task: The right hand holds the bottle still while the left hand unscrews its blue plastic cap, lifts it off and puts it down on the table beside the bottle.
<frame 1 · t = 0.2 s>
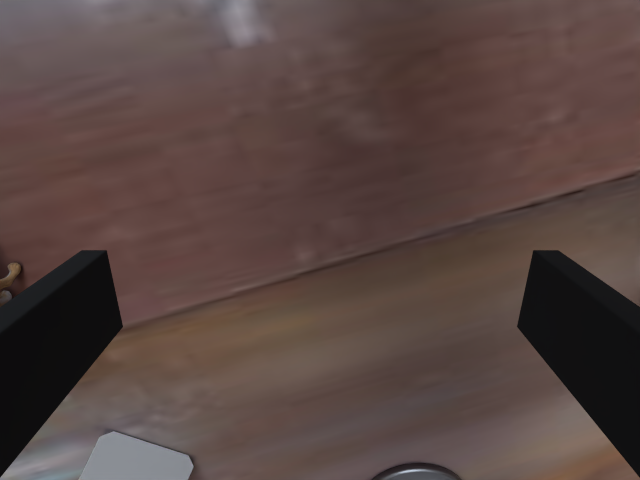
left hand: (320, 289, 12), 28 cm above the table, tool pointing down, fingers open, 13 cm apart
electronic device: (144, 459, 54), on the table
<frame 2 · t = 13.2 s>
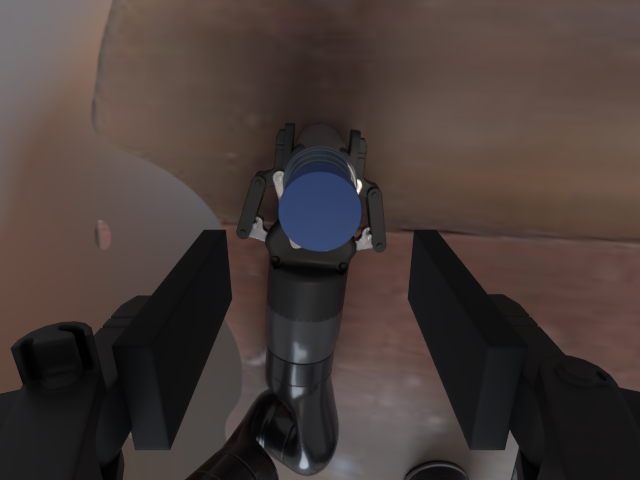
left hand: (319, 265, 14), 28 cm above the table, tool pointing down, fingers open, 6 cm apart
right hand: (322, 128, 33), fingers closed on bottle, 5 cm apart
bottle: (319, 148, 40), on the table, touching right hand
cap: (320, 211, 20), point 21 cm above the table, screwed on, not yet turned
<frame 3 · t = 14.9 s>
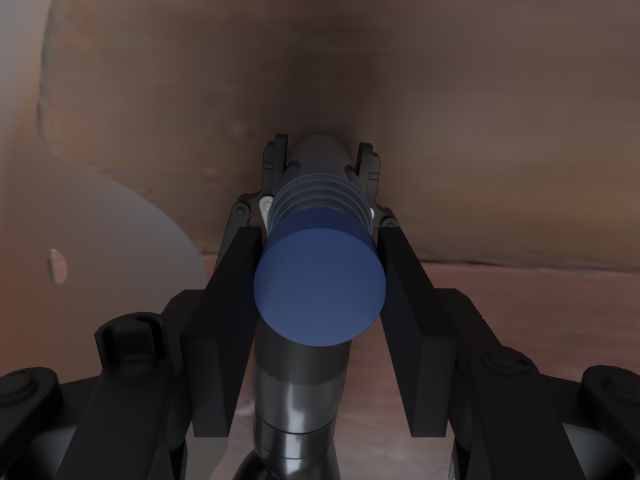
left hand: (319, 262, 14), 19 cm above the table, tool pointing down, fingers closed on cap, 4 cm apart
bottle: (319, 163, 32), on the table, touching right hand
cap: (319, 286, 13), point 21 cm above the table, screwed on, not yet turned, touching left hand
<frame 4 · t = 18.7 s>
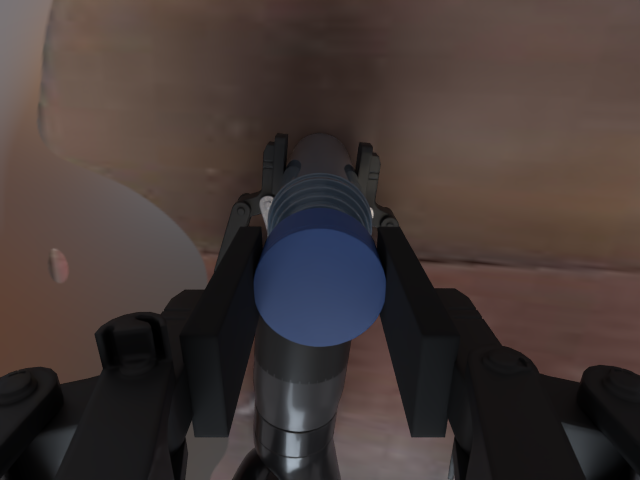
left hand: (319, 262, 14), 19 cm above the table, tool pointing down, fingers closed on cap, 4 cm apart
bottle: (319, 163, 32), on the table, touching right hand
cap: (319, 286, 13), point 21 cm above the table, turned 130° so far, risen 0.1 cm, still on its thread, touching left hand
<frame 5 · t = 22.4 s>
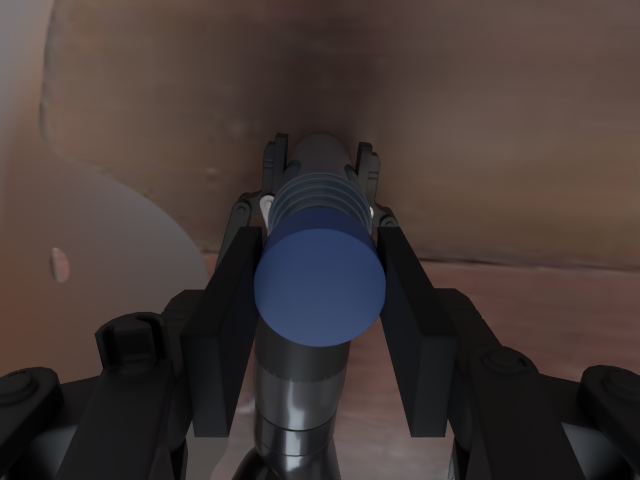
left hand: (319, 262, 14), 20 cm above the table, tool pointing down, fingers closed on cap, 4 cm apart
bottle: (319, 163, 33), on the table, touching right hand
cap: (319, 286, 13), point 21 cm above the table, turned 261° so far, risen 0.3 cm, still on its thread, touching left hand
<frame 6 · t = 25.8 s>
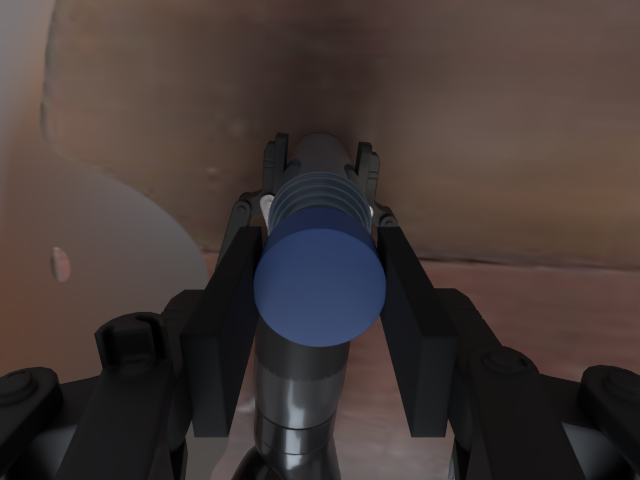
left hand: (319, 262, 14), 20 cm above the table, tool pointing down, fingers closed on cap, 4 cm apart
bottle: (319, 162, 33), on the table, touching right hand
cap: (319, 286, 13), point 22 cm above the table, turned 391° so far, risen 0.4 cm, still on its thread, touching left hand
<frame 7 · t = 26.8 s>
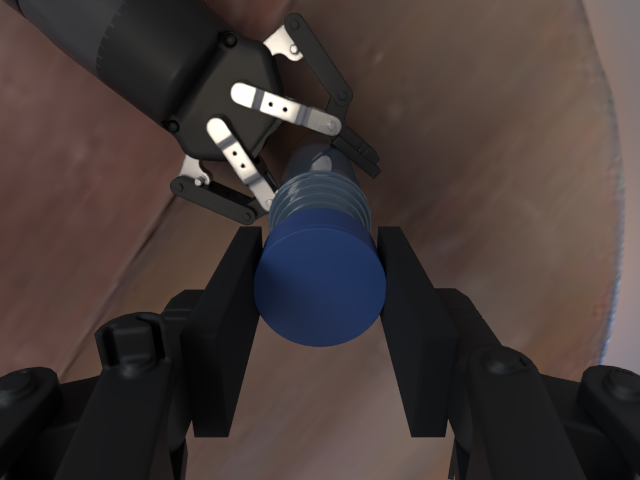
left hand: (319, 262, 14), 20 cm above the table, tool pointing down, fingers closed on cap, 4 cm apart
right hand: (349, 201, 28), fingers closed on bottle, 5 cm apart
bottle: (319, 162, 33), on the table, touching right hand
cap: (319, 286, 13), point 22 cm above the table, off its thread, touching left hand
when the left hand's fingers open (1 cm above the table, at t = 33.9 s): cap drops 1 cm, point 2 cm above the table.
when the right hand's fingers open (6 cm above the table, at t = 35.1 s): bottle stays where it is, on the table.
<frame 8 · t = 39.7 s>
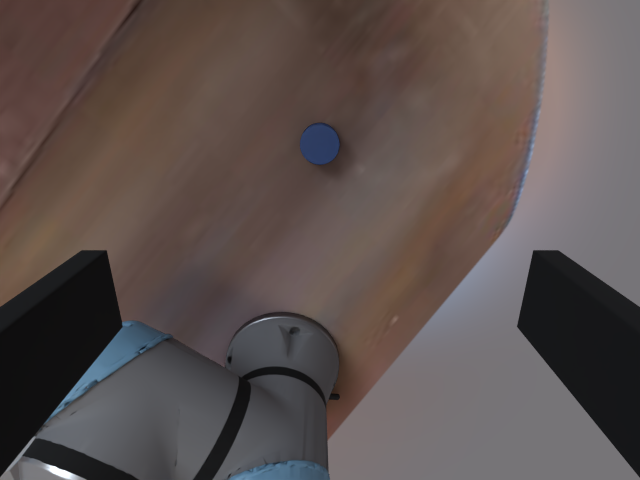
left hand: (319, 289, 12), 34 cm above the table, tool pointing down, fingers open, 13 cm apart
cap: (319, 144, 42), point 2 cm above the table, off its thread
electronic device: (40, 417, 59), on the table
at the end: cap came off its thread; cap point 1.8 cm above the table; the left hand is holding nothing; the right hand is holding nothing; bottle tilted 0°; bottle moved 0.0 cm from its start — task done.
